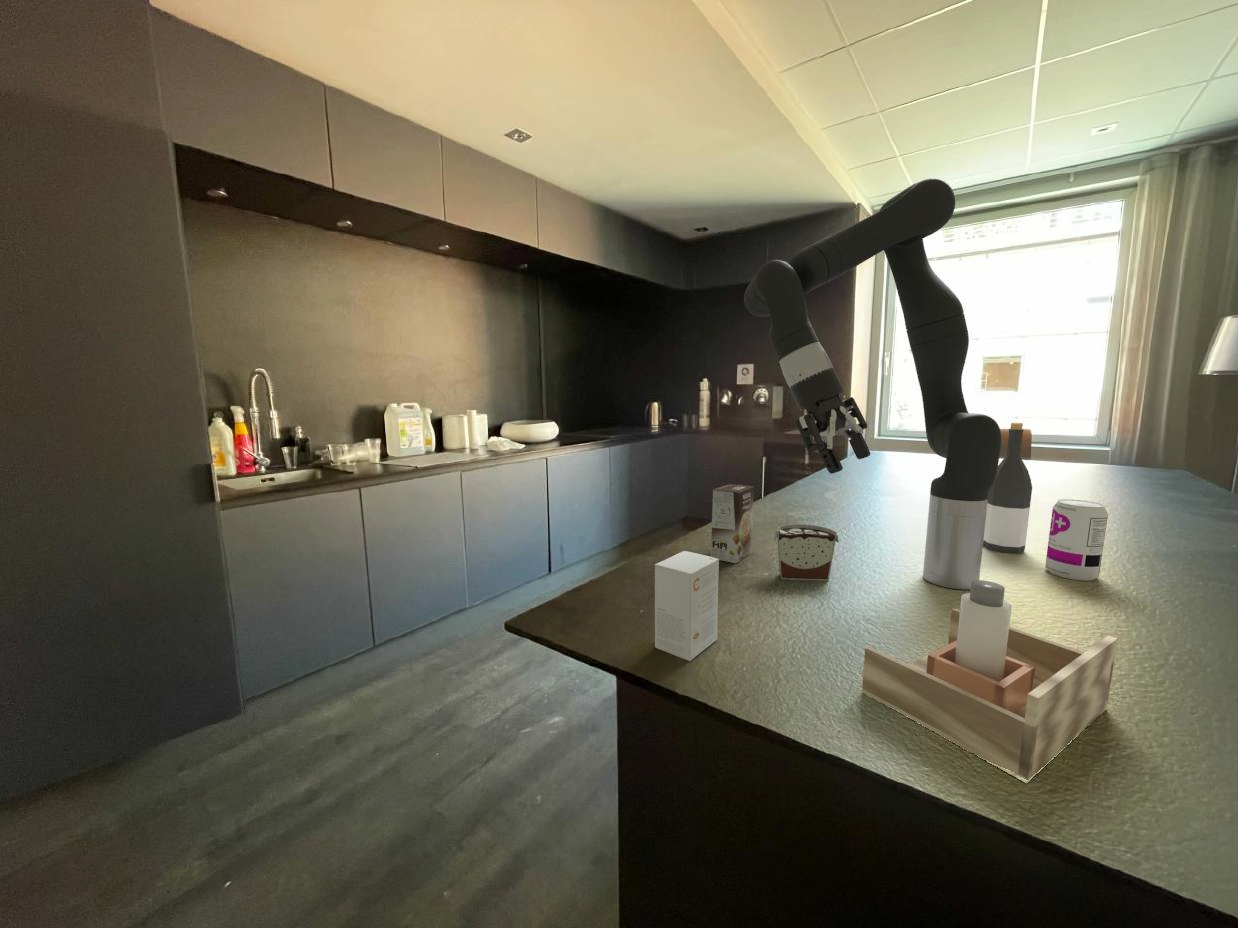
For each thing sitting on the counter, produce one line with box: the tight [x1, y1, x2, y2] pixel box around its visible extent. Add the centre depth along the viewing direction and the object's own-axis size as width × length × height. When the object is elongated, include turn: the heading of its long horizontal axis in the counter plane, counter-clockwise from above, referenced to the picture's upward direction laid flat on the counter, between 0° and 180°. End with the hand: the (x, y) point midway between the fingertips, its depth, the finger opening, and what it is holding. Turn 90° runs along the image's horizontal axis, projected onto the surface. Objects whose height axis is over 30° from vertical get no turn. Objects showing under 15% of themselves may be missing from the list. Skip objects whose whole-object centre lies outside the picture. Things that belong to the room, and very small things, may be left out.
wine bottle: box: [983, 422, 1033, 555], centre depth 115 cm, size 8×8×30 cm
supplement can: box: [1044, 498, 1109, 582], centre depth 100 cm, size 8×8×15 cm
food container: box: [773, 523, 840, 582], centre depth 101 cm, size 12×6×10 cm, turn 84°
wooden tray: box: [861, 607, 1118, 780], centre depth 59 cm, size 22×17×9 cm
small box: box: [654, 550, 720, 662], centre depth 73 cm, size 8×6×13 cm
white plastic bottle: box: [955, 579, 1012, 682], centre depth 59 cm, size 5×5×14 cm
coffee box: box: [710, 483, 755, 564], centre depth 112 cm, size 9×6×16 cm
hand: (851, 464), depth 81 cm, fingers open, 8 cm apart
